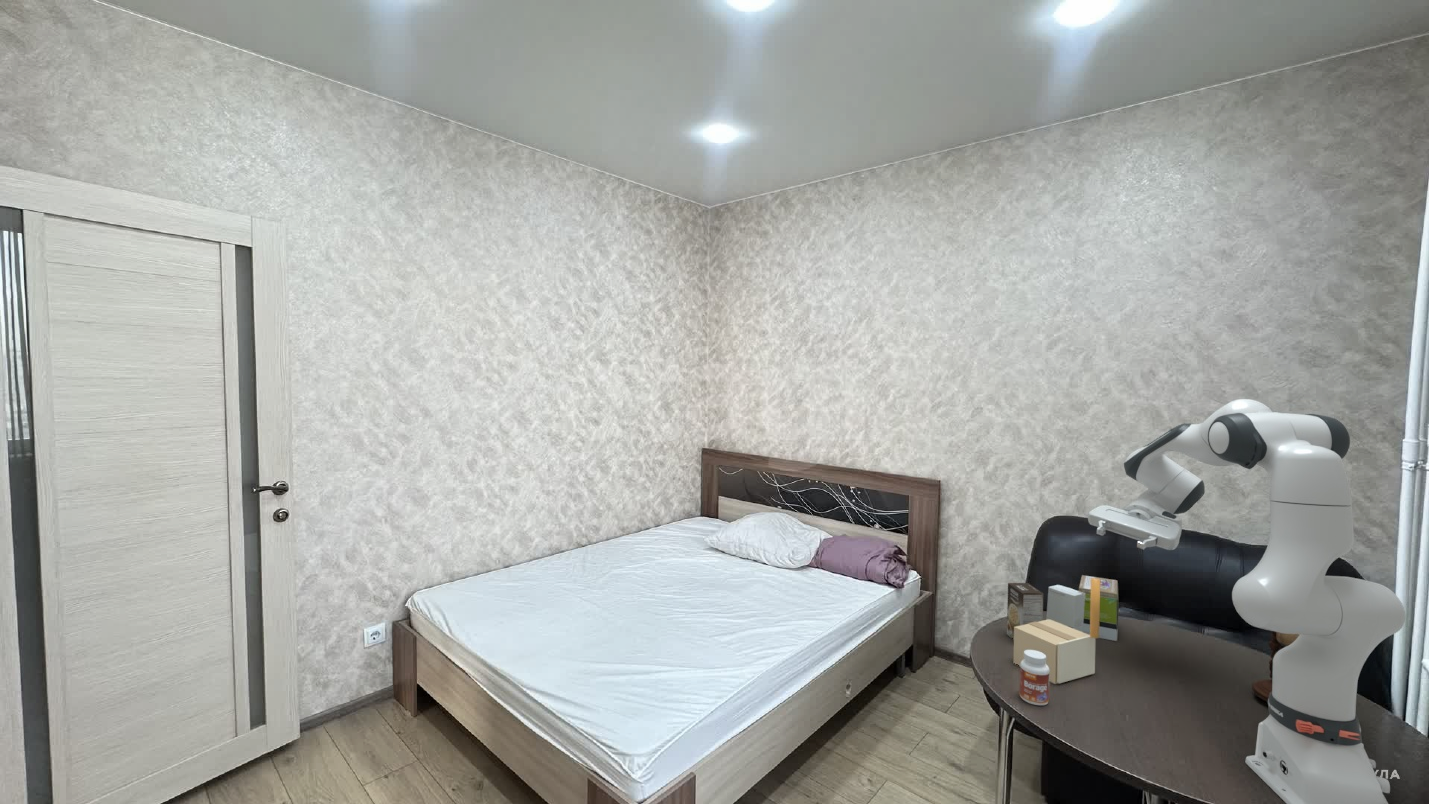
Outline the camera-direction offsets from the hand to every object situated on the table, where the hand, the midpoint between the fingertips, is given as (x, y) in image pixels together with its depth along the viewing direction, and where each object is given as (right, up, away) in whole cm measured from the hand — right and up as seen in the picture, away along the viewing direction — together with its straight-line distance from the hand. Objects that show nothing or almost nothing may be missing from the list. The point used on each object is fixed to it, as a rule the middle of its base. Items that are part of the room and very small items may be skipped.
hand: (1119, 539), depth 150 cm
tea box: (+14, -35, +29) cm, 48 cm away
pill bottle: (-29, -36, -12) cm, 48 cm away
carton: (-16, -35, +3) cm, 39 cm away
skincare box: (-1, -35, +22) cm, 42 cm away
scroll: (+31, -36, -15) cm, 50 cm away
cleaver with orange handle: (-13, -35, -3) cm, 37 cm away
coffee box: (-14, -35, +20) cm, 43 cm away
